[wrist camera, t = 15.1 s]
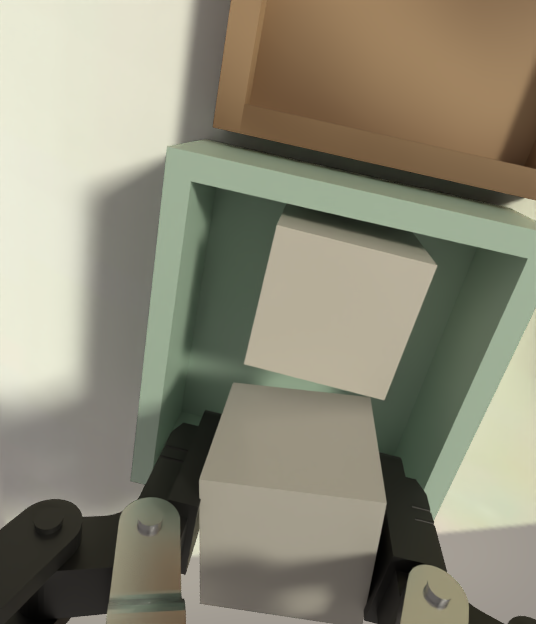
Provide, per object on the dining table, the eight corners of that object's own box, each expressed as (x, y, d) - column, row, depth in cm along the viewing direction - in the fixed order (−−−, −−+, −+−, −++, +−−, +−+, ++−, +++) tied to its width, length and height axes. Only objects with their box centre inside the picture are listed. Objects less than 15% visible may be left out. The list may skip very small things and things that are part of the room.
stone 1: (288, 198, 15) (276, 224, 11) (410, 228, 15) (437, 265, 11) (261, 309, 17) (243, 364, 13) (371, 337, 17) (384, 400, 13)
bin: (205, 139, 15) (167, 146, 11) (509, 208, 15) (569, 237, 11) (167, 412, 20) (130, 481, 16) (400, 469, 19) (418, 552, 16)
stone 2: (233, 382, 14) (199, 479, 10) (370, 397, 13) (386, 503, 10) (230, 487, 15) (200, 603, 12) (352, 502, 15) (361, 627, 11)
